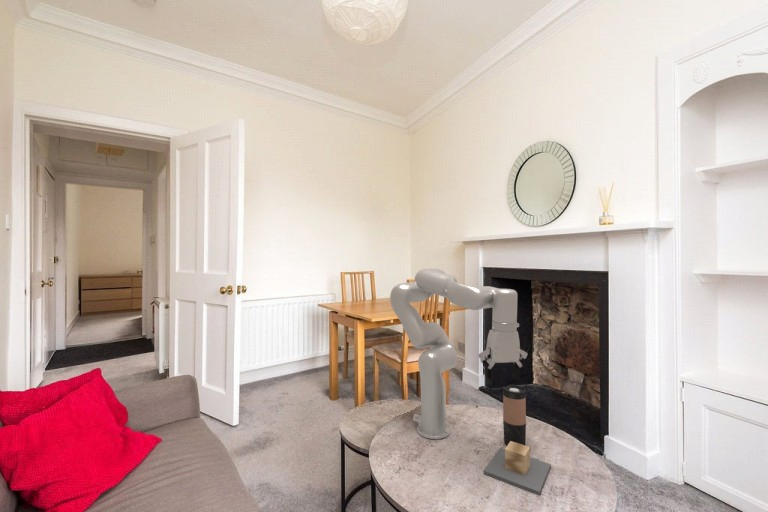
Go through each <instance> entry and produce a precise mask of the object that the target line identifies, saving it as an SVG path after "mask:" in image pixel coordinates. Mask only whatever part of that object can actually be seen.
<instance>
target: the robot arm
mask: <svg viewBox="0 0 768 512" xmlns="http://www.w3.org/2000/svg"><path fill="white" fill-rule="evenodd" d="M434 295H437V296H441V297H442V298H446V300H447V301H448V302H450V303H452V304H454V305H456V306H458V307H461V308H464V309H467V310H472V311H478V310H484V309H490V308H492V319H491V320H492V321H491V329H489V332H488V333H487V334H488V335H487V339H486V348H485V350H483V351H481V352H479V353H478V358H479V360H480V362H481V364H483V366H484V368H485V371H484V372H485V375H484V376H485V379H486V380H488V381H489V382H493V381H494V369H493V367H494V366H495V364H505V363H506V364H507V363H513V364H512V366H511V377H512V378H514V379H515V380H517V381H519V380H520V377H521V376H520V375H521V368H522V367H523V364H524V363H525V361H526V359H527V357H528V352H526V351H525V350H523V349H521V346H520V345H521V344H520V342H521V341H520V337H519V336H520V335H519V332H518V330H517V328H519V327H520V323H519V322H518V321H517V320H518V292H517V291H516V290H515V289H511V288H498V287H494V286H489V285H487V286H486V285H485V286H484V285H483V286H474V287H473V286H469V285H465V284H462V283H459V282H458V280H457V278H456V277H455V276H453V275H451V274H447V273H446V272H445V271H444V270H443V269H440V268H422V269H420V270H418V271H417V272H416V274H415V275H414V282H402V283H398V284H397V285H394V287H393V288H392V289H391V291H390V295H389V302H390V306H391V308H392V311H393V312H394V314H395V315H396V317H397V318H398V320H399V322H400V323H401V326H402V328H403V330H404V331H405V334H406V335H407V337H408V340H409V341H410V343H411V345H412V346H413V347H414V348H415V349H419V350H420V349H424V348H427V349H426V350H424V351H422V352H421V353H420V355H419V357H418V359H417V360H418V361H417V362H418V363H417V364H418V370H419V376H420V414H417V413H413V417H412V422H415V423H417V426H416V431H417V433H418V435H419V436H421V437H423V438H426V439H430V440H443V439H444V438H445V439H446V438H447V437H448V436H449V435H450V433H451V432H450V431H451V429H450V427H449V426H448V425H447V421H446V412H447V411H446V410H447V409H446V407H447V406H446V398H447V397H446V396H447V395H446V392H447V391H446V381H445V379H444V377H443V373H444V372H446V371H449V370H451V369H454V368H455V367H456V365H457V363H458V360H459V359H458V354H457V350H456V349H455V348H454V345H453V344H452V342H451V340H450V338H449V336H448V334H447V333H446V331H445V329H444V328H443V327H442V326H441V325H440V324H439V323H437V322H432V321H431V322H425V320H423V318H422V316H421V314H420V313H419V311H418V310H417V309H416V308H415V307H414V306H412V304H411V303H419V302H424V301H426V300H428V299H429V298H431V297H432V296H434ZM428 347H429V349H428Z"/></svg>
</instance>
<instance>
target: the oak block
mask: <svg viewBox="0 0 768 512" xmlns="http://www.w3.org/2000/svg"><path fill="white" fill-rule="evenodd" d="M504 449H505V469H508V470H510V471H513V472H516V473H519V474H522V475H524V476H526V474H527V472H528V469H529V467H530V458H531V447H530V446H528V445H526V444H525V445H522V444H519V443H516V442H512V441H510V442H509V444H508V445H507V446H505V448H504Z"/></svg>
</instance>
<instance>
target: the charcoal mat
mask: <svg viewBox="0 0 768 512" xmlns="http://www.w3.org/2000/svg"><path fill="white" fill-rule="evenodd" d="M551 469H552V465H551V464H550V463H548V462H545V461H542V460H539V459H536V458H533V457H530V467H529V469H528V472H527V474H526V476H524V475H522V474H519V473H516V472H513V471H510V470H508V469H505V448H502V447H499V449H498V450H497V451H496V453H495V454H494V456H493V457H492V459H491V460H490V462H489V463H488V464H487V465H486V467H485V469H483V475H484V476H485V475H486V476H488V477H490V478H493V479H496V480H499V481H501V482H503V483H505V484H508V485H511V486H513V487H517V488H519V489H522V490H524V491H527V492H530V493H532V494H535V495H537V496H540V495H541V494H542V492H543V491H542V490H543V488H544V486H545V483H546V480H547V478H548V476H549V474H550V470H551Z"/></svg>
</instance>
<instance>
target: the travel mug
mask: <svg viewBox="0 0 768 512" xmlns="http://www.w3.org/2000/svg"><path fill="white" fill-rule="evenodd" d="M502 388H503V389H502V390H503V391H502V392H503V393H502V397H503V400H502V401H503V402H502V405H503V406H502V407H503V408H502V409H503V410H502V411H503V412H502V413H503V414H502V417H503V418H502V422H503V424H502V425H503V442H504V445H505V447H507V445H508V444H509V442H510V441H512V442H516V443H519V444H522V445H525V446H526V440H527V439H526V438H527V436H526V435H527V434H526V433H527V410H526V409H527V407H526V403H527V402H526V401H527V400H526V388H524V387H522V386H521V385H515V384H508V385H506V386H503V387H502Z"/></svg>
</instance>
